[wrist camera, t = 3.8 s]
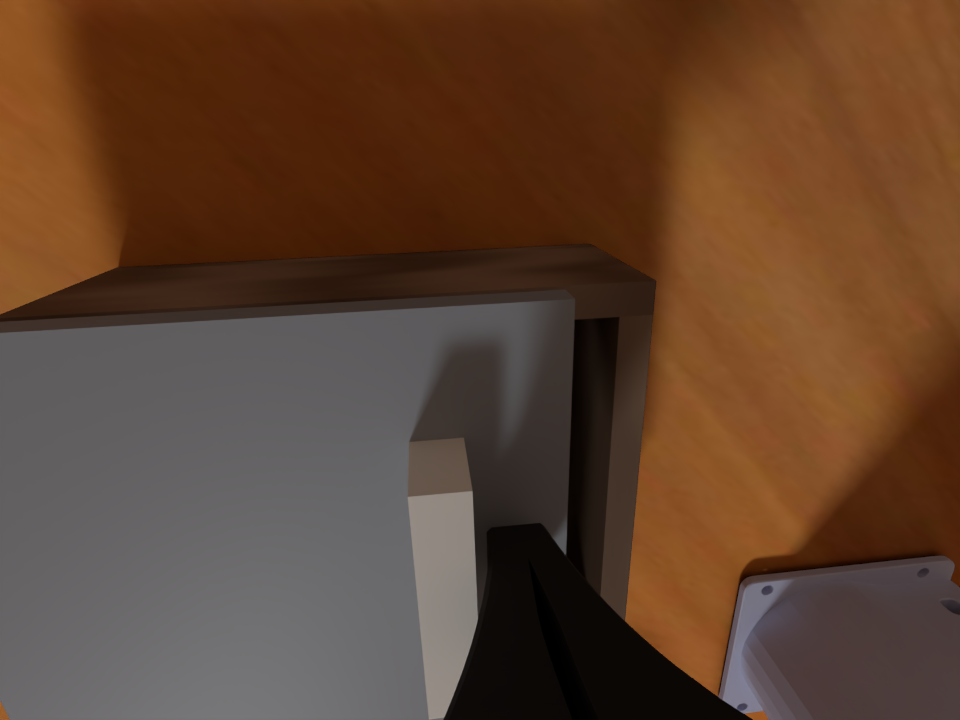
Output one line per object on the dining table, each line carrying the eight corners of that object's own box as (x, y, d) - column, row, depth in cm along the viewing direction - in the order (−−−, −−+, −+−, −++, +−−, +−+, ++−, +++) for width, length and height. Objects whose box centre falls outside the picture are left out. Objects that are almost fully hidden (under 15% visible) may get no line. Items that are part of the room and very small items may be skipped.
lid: (565, 289, 12) (607, 329, 9) (554, 681, 16) (580, 782, 14) (-141, 329, 10) (-325, 389, 8) (56, 741, 15) (-19, 867, 12)
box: (590, 244, 17) (656, 280, 12) (576, 551, 21) (620, 663, 17) (116, 267, 16) (-10, 318, 11) (207, 588, 20) (144, 721, 15)
